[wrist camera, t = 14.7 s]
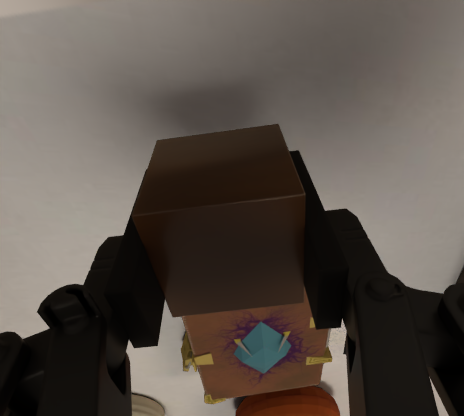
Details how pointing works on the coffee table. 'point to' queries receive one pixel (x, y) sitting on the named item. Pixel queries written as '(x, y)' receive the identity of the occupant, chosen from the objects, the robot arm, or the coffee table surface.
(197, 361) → the book
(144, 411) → the jar
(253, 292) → the block
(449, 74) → the coffee table surface
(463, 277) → the cabinet
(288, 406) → the donut
